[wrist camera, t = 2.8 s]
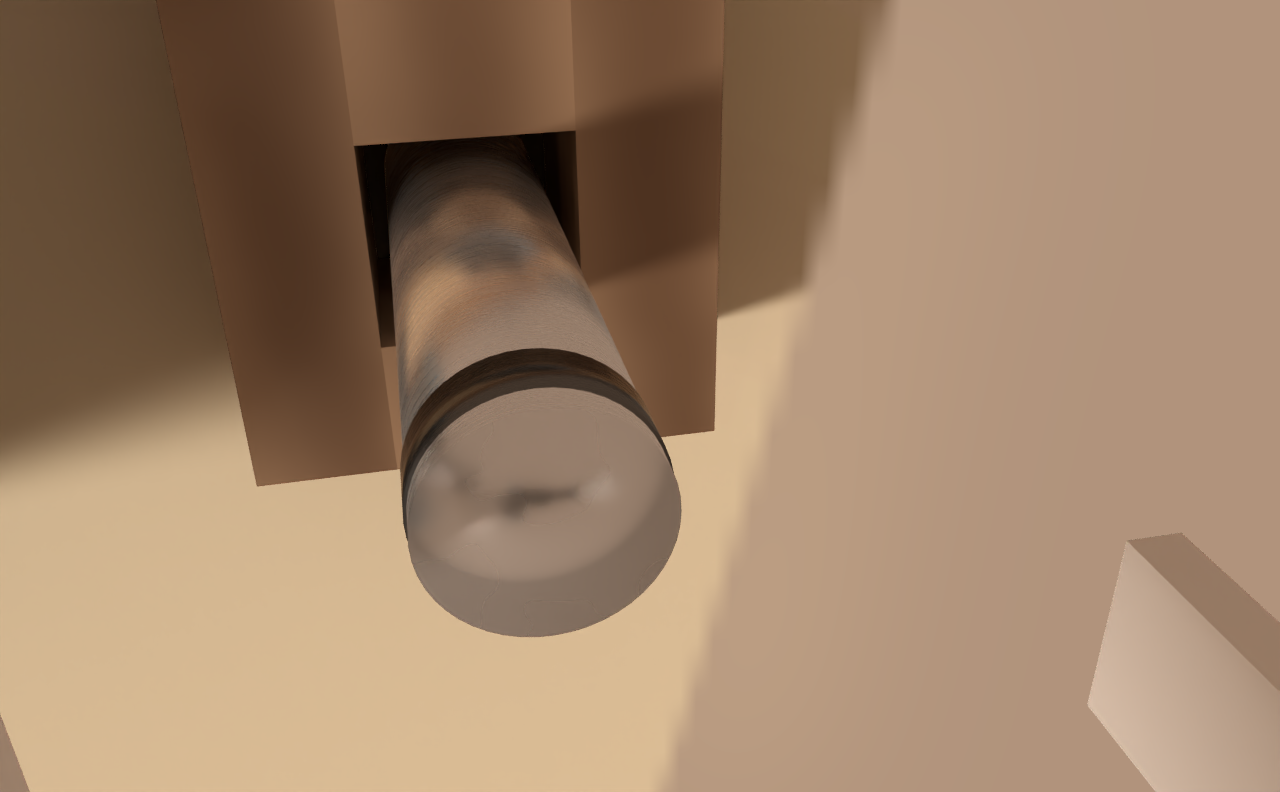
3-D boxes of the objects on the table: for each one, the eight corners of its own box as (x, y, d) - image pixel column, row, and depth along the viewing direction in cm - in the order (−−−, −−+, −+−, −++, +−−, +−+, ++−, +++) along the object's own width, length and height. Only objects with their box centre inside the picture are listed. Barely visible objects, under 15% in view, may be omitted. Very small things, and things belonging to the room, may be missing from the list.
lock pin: (391, 242, 32) (419, 658, 17) (374, 100, 30) (387, 423, 15) (533, 230, 33) (683, 618, 18) (524, 90, 31) (685, 388, 16)
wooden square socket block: (272, 379, 34) (256, 486, 28) (191, -50, 28) (152, -13, 23) (663, 337, 36) (714, 430, 31) (662, -67, 30) (725, -37, 25)
